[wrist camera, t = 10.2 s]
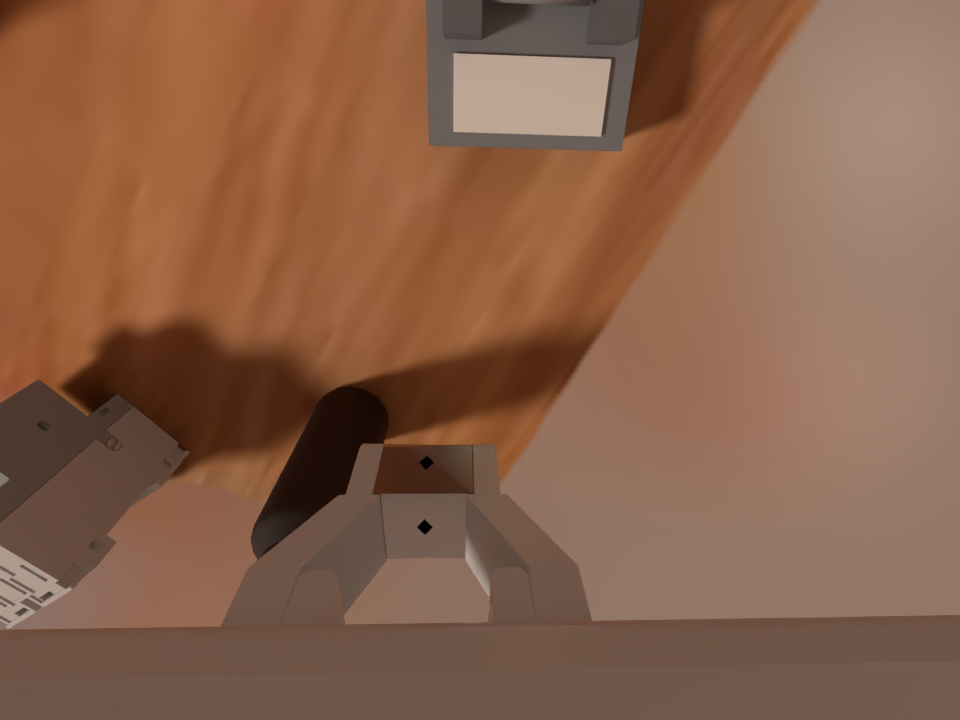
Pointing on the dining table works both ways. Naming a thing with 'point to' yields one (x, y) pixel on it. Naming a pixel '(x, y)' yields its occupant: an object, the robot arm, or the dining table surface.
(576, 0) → the lever
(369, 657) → the robot arm
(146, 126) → the dining table surface
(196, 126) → the dining table surface
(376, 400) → the bottle
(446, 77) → the panel
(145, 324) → the dining table surface
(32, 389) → the circuit breaker
